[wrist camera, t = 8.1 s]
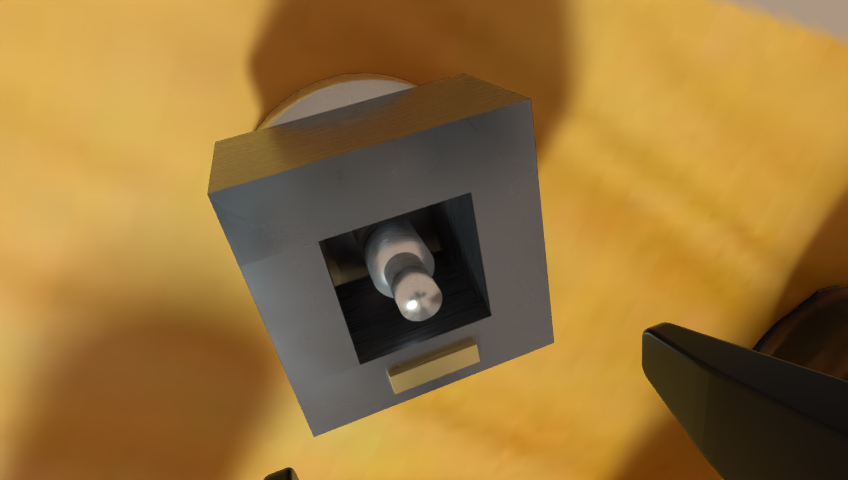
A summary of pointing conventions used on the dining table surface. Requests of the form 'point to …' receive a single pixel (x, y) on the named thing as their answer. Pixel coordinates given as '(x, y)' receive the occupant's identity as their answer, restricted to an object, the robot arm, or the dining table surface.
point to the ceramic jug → (814, 334)
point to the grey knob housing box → (376, 201)
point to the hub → (383, 241)
